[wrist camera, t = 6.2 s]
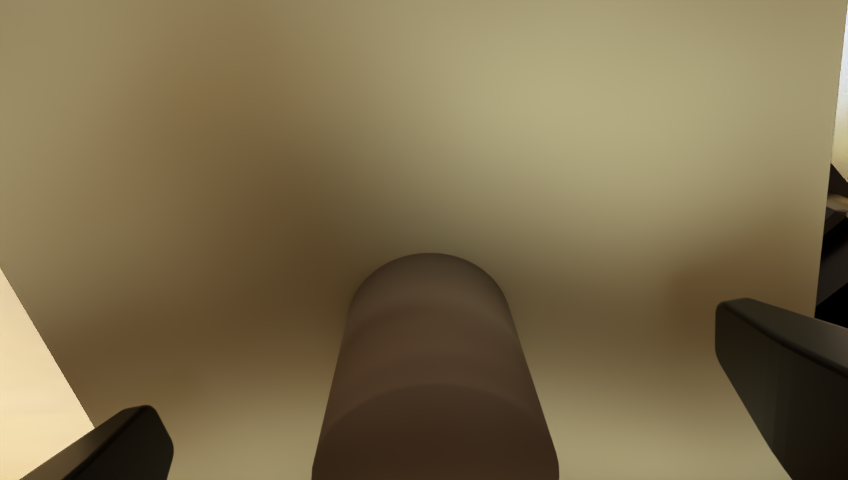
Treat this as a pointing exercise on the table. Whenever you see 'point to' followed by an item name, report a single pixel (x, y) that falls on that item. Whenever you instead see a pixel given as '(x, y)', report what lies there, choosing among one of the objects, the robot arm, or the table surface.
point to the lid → (416, 224)
